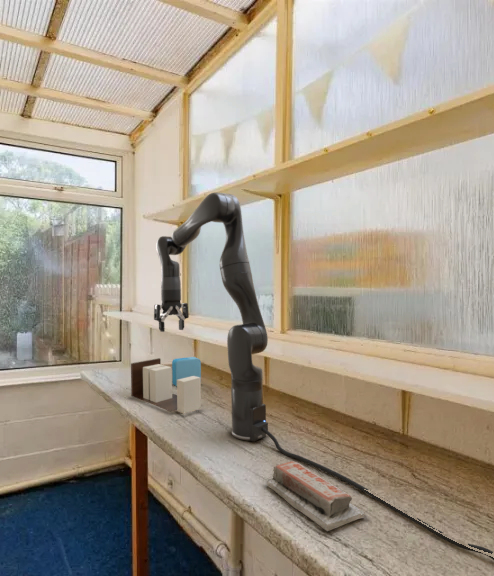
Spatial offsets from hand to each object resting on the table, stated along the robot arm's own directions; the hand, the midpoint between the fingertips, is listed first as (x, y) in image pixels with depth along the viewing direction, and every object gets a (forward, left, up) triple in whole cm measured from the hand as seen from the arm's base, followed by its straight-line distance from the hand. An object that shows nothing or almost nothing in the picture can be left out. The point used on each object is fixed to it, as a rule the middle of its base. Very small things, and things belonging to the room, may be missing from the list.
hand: (171, 330), depth 147 cm
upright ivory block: (-14, +4, -27) cm, 31 cm away
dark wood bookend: (+2, +3, -27) cm, 27 cm away
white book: (+7, +4, -26) cm, 27 cm away
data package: (+12, -18, -27) cm, 35 cm away
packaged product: (-71, +21, -27) cm, 79 cm away
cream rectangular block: (+2, +4, -26) cm, 27 cm away
